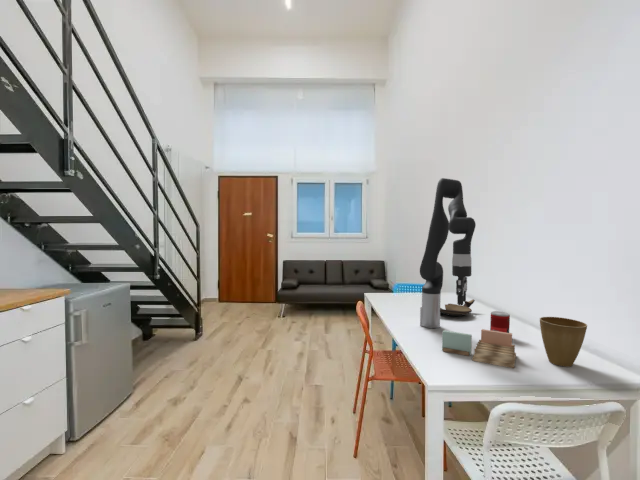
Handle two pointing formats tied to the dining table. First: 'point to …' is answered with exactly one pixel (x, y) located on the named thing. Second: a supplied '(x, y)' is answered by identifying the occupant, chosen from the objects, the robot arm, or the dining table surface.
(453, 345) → the green plate
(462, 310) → the oil lamp
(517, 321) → the dining table surface
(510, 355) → the rack
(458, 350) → the stand rails
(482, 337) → the pink rectangular slab
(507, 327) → the canned food
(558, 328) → the plant pot
